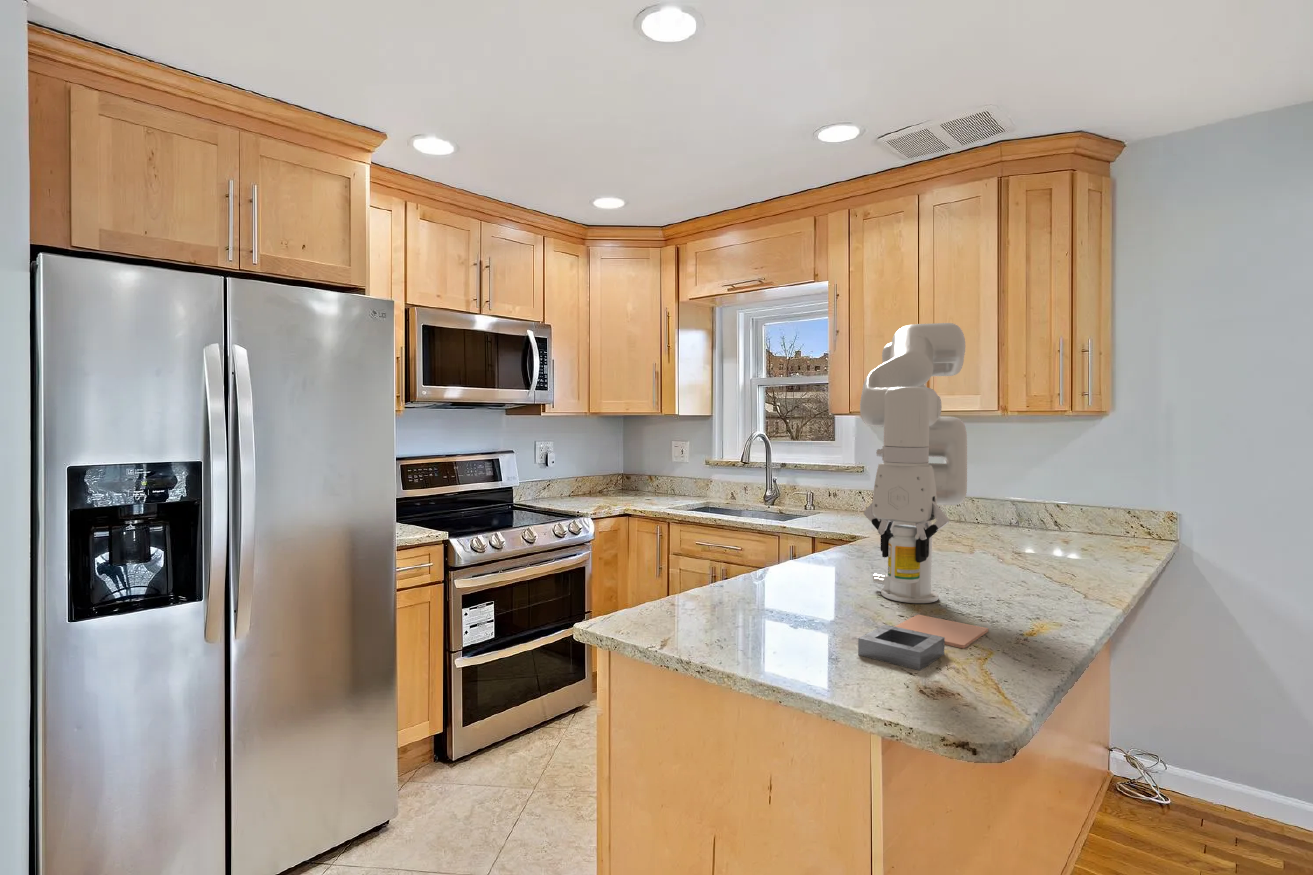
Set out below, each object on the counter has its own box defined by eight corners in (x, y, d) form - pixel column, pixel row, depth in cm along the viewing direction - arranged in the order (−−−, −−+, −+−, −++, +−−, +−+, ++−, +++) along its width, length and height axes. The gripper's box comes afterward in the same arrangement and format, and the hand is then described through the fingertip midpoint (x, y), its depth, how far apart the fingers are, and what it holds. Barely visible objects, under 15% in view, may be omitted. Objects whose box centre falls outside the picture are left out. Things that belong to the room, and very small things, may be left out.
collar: (858, 654, 122) (858, 637, 122) (884, 640, 130) (885, 624, 130) (920, 670, 114) (920, 652, 114) (944, 653, 123) (944, 637, 122)
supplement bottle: (881, 578, 124) (882, 525, 123) (903, 575, 126) (904, 523, 126) (904, 585, 119) (904, 529, 119) (926, 581, 121) (927, 527, 121)
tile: (889, 632, 135) (889, 628, 135) (917, 617, 145) (917, 614, 145) (963, 648, 126) (963, 645, 126) (988, 631, 136) (988, 628, 136)
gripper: (850, 455, 125) (849, 555, 125) (947, 460, 113) (945, 569, 114) (869, 453, 130) (868, 549, 131) (963, 458, 119) (961, 562, 119)
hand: (904, 557), depth 122 cm, fingers closed on supplement bottle, 5 cm apart
